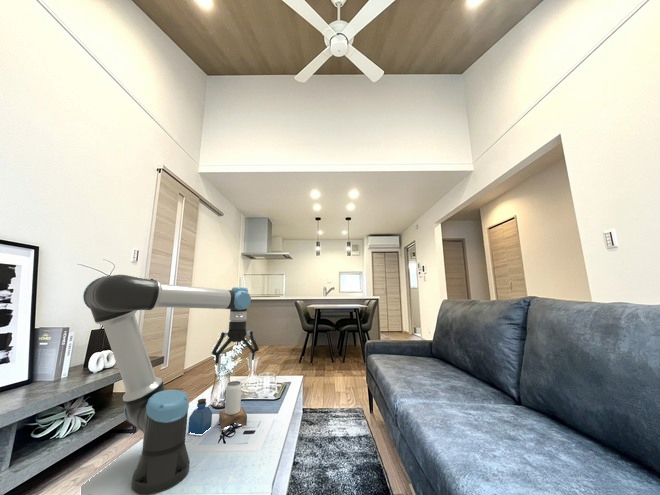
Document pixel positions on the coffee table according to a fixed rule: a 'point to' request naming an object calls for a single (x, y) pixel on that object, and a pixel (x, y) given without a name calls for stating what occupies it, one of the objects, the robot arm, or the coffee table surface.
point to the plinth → (232, 418)
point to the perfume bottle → (200, 418)
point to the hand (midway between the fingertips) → (234, 369)
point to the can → (233, 398)
